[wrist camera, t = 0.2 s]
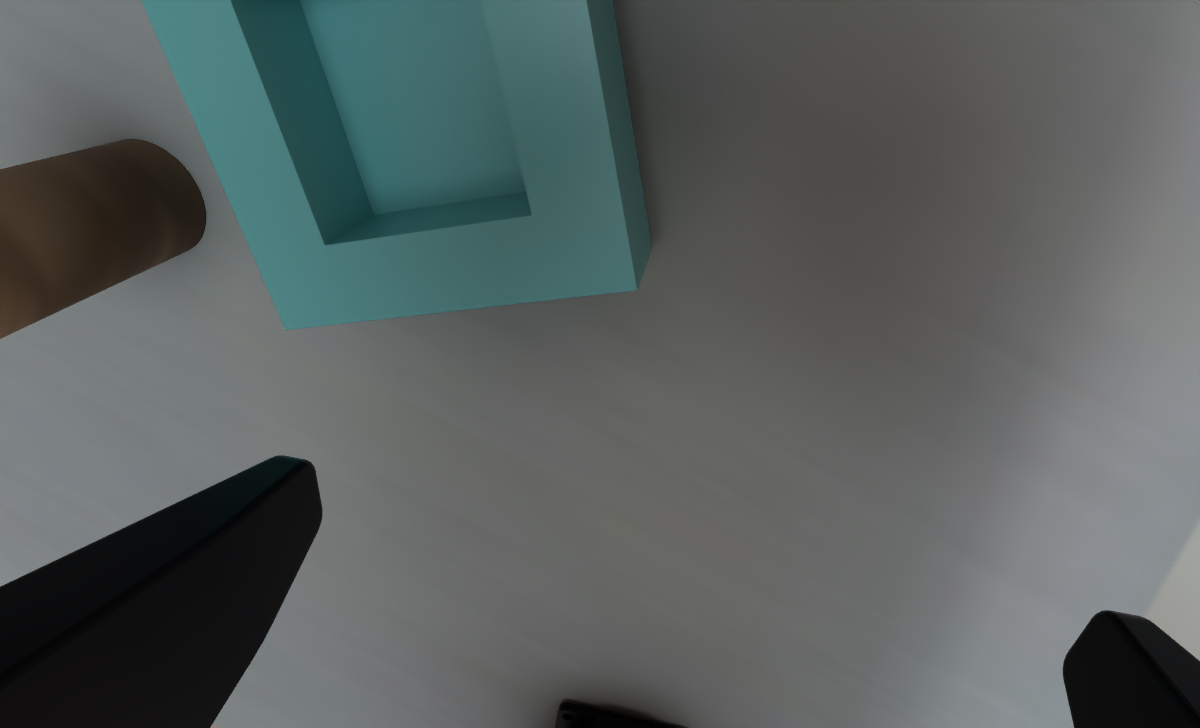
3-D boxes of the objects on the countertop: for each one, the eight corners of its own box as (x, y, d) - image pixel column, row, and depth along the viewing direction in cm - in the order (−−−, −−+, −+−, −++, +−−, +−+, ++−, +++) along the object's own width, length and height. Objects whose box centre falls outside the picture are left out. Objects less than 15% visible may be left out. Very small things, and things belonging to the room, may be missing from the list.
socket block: (652, 242, 22) (637, 290, 18) (349, 281, 24) (285, 330, 21) (585, -184, 17) (546, -231, 13) (214, -77, 19) (101, -92, 16)
